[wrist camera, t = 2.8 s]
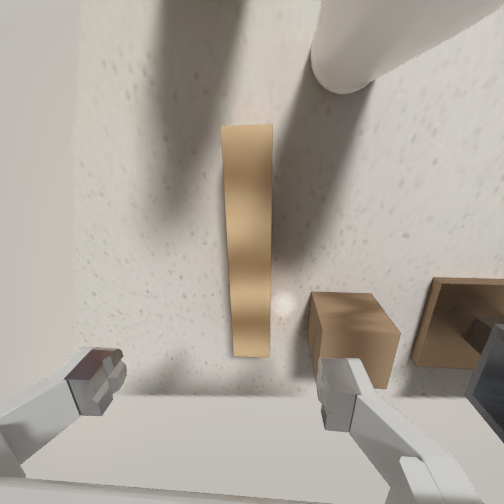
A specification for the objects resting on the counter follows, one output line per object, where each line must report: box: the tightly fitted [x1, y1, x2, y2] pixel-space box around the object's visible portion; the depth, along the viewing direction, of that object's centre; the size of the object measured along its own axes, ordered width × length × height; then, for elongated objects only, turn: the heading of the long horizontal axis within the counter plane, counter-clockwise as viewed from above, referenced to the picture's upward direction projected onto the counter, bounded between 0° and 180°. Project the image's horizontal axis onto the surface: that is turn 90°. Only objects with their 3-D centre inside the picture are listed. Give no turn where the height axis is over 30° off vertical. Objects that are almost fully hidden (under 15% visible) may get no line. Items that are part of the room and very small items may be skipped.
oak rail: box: [221, 124, 273, 358], centre depth 22 cm, size 20×4×4 cm, turn 1°
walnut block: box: [307, 292, 401, 389], centre depth 23 cm, size 6×6×6 cm
